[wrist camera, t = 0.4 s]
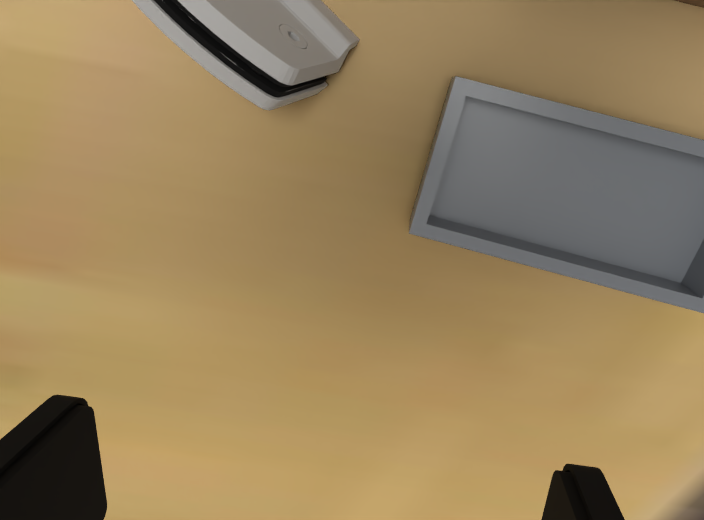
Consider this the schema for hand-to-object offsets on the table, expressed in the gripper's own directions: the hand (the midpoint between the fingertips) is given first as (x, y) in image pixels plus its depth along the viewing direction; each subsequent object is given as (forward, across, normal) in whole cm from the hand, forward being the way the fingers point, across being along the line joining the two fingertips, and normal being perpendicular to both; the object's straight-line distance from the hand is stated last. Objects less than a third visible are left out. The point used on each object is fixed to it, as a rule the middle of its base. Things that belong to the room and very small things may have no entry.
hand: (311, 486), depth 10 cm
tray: (+31, -14, -1) cm, 34 cm away
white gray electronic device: (+32, +12, -12) cm, 36 cm away
